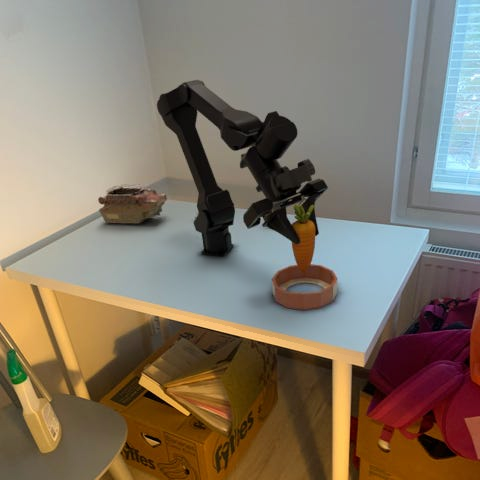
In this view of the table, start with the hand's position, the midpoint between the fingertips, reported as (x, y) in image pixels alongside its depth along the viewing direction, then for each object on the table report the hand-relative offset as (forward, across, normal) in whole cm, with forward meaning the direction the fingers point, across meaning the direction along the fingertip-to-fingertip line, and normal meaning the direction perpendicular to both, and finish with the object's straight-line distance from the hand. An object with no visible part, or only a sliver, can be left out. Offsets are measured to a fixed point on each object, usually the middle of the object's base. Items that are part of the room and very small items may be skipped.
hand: (307, 239), depth 96 cm
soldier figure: (-28, +14, +48) cm, 57 cm away
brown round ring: (+8, 0, +10) cm, 13 cm away
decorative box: (-40, -3, +59) cm, 71 cm away
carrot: (+5, 0, +7) cm, 8 cm away
